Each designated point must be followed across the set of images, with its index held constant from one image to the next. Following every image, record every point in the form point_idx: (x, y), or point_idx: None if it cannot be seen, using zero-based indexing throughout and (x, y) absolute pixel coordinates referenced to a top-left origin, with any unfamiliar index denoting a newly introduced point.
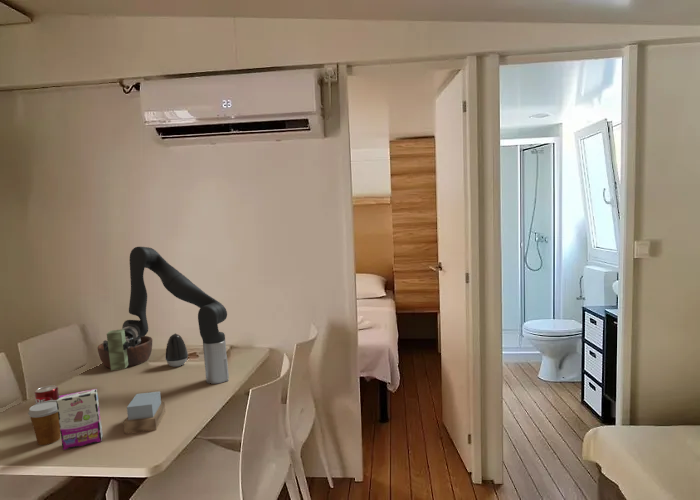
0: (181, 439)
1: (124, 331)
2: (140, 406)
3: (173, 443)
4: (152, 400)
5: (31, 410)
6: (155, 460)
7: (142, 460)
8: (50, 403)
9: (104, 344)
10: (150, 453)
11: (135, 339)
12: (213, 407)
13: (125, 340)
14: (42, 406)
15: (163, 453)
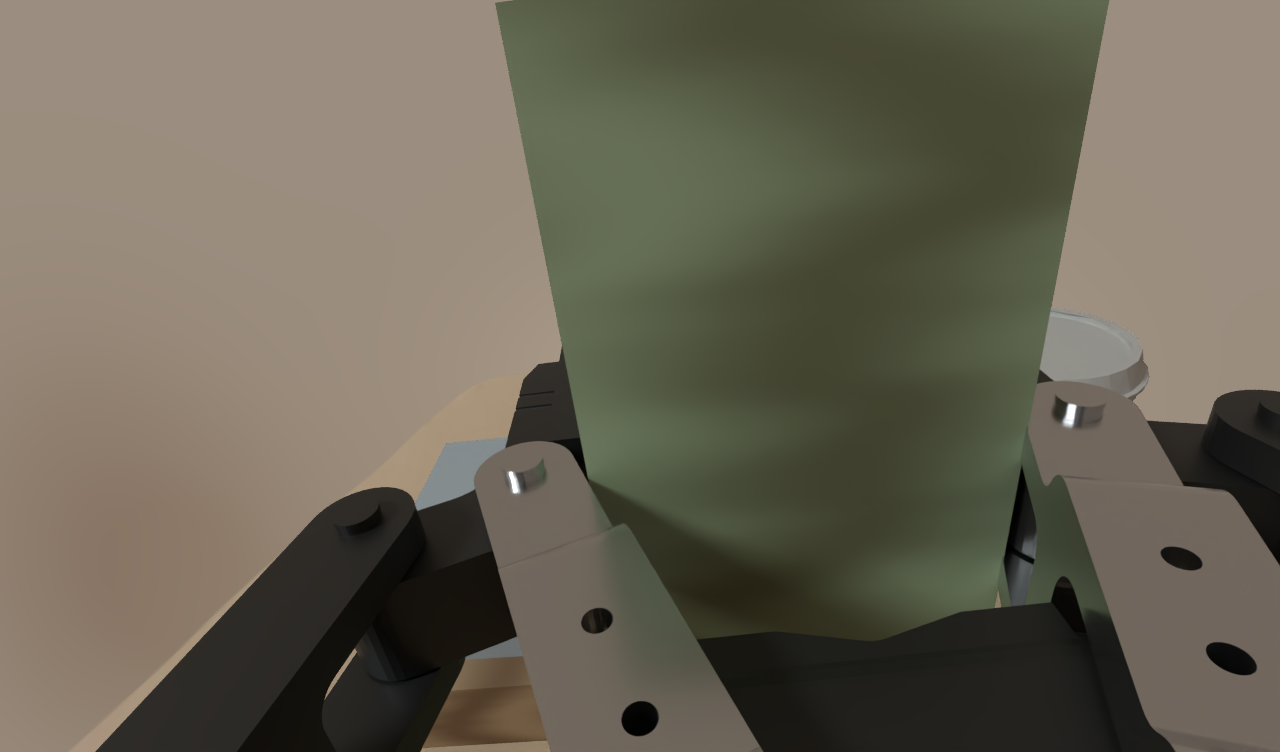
0: (387, 464)
1: (521, 120)
2: (506, 441)
3: (419, 447)
4: (438, 479)
5: (1059, 309)
6: (483, 388)
7: (520, 390)
8: (1046, 365)
9: (1231, 402)
10: (497, 412)
11: (267, 570)
12: (91, 739)
13: (584, 440)
14: (1059, 345)
15: (458, 410)
